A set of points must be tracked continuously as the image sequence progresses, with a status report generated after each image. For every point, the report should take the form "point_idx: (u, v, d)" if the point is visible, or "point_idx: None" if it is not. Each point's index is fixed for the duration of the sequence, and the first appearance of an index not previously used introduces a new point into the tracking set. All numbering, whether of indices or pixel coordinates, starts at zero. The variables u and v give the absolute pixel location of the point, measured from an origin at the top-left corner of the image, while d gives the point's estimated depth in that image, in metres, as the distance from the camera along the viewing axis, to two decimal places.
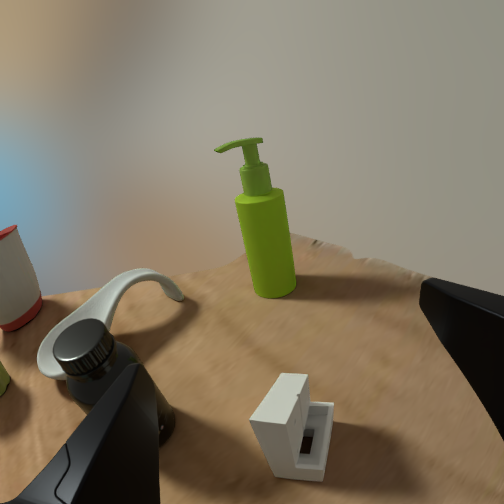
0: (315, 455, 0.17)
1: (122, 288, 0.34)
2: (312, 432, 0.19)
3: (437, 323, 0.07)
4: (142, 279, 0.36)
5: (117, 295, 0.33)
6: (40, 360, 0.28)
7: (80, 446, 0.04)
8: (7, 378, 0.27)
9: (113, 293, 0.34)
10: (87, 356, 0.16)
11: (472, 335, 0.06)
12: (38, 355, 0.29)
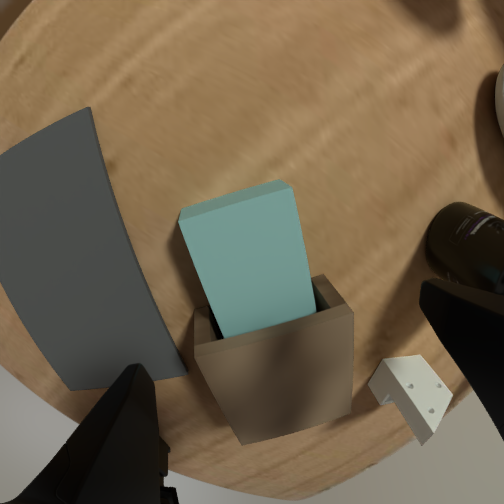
0: None
1: None
2: None
3: (437, 323, 0.07)
4: None
5: None
6: None
7: (80, 446, 0.04)
8: None
9: None
10: None
11: (472, 335, 0.06)
12: None
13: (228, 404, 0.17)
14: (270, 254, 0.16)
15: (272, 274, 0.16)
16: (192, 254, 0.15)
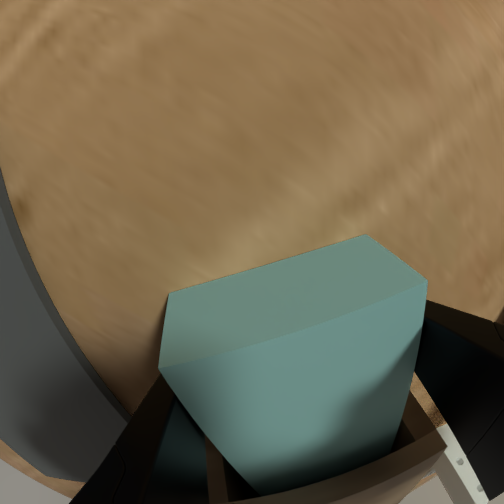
0: None
1: None
2: None
3: None
4: None
5: None
6: None
7: (135, 446, 0.04)
8: None
9: None
10: None
11: (436, 356, 0.06)
12: None
13: None
14: (354, 400, 0.07)
15: (349, 422, 0.07)
16: (197, 418, 0.06)
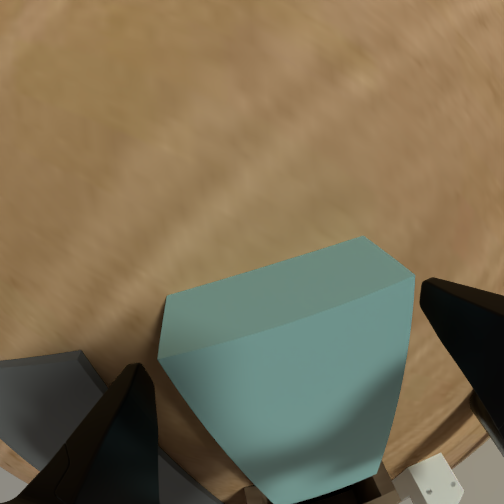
0: None
1: None
2: None
3: (437, 323, 0.07)
4: None
5: None
6: None
7: (79, 446, 0.04)
8: None
9: None
10: None
11: (472, 335, 0.06)
12: None
13: None
14: (347, 392, 0.07)
15: (343, 414, 0.08)
16: (195, 408, 0.06)
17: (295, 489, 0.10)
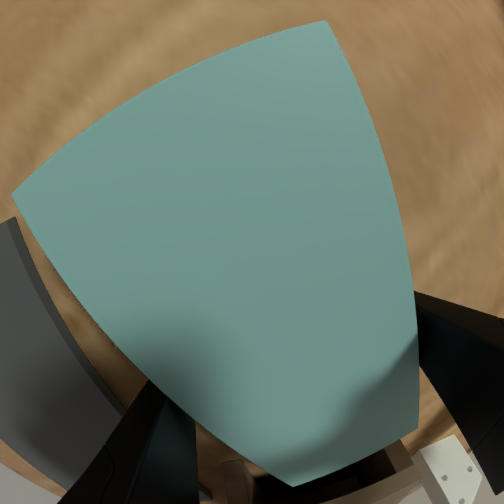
0: None
1: None
2: None
3: None
4: None
5: None
6: None
7: (123, 447, 0.04)
8: None
9: None
10: None
11: (444, 352, 0.06)
12: None
13: None
14: (302, 240, 0.05)
15: (317, 296, 0.05)
16: (69, 280, 0.04)
17: (304, 458, 0.08)
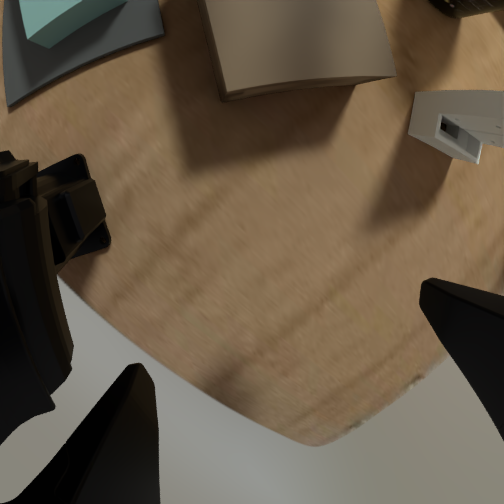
0: None
1: None
2: (452, 136, 0.18)
3: (437, 323, 0.07)
4: None
5: None
6: None
7: (80, 446, 0.04)
8: None
9: None
10: None
11: (472, 335, 0.06)
12: None
13: None
14: None
15: None
16: None
17: None
